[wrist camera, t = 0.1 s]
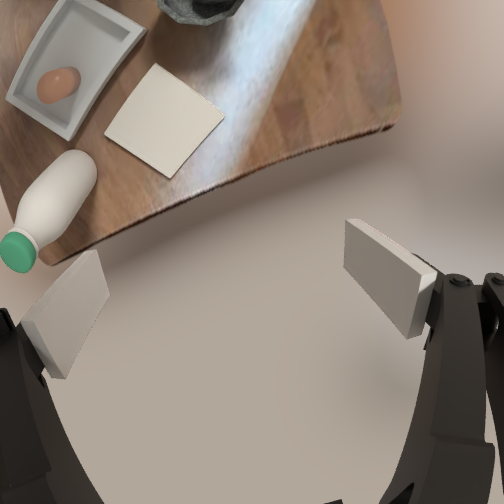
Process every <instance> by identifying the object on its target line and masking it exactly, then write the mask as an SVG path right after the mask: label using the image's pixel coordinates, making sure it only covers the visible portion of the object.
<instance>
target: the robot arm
mask: <svg viewBox="0 0 504 504" xmlns="http://www.w3.org/2000/svg"><path fill="white" fill-rule="evenodd" d="M344 268H345V269H346V270H347V271H348V273H349V274H350V275H351V276H352V277H353V278H354V279H355V280H356V281H357V282H358V284H359V285H360V286H361V287H362V288H363V289H364V290H365V292H366V293H367V294H368V295H369V296H370V297H371V298H372V299H373V301H374V302H375V303H376V304H377V305H378V306H379V307H380V309H381V310H382V311H383V312H384V313H385V314H386V316H387V317H388V318H389V319H390V320H391V321H392V323H393V324H394V325H395V326H396V327H397V329H398V330H399V331H400V332H401V333H402V335H403V336H404V337H405V338H406V339H410V338H413V337H416V336H419V335H421V334H422V331H423V328H424V324H425V322H426V323H427V324H428V325H429V326H430V327H431V328H430V331H429V334H428V337H427V340H426V343H425V346H424V350H426V355H425V361H424V367H423V373H422V378H421V383H420V388H419V393H418V397H417V401H416V406H415V410H414V414H413V418H412V422H411V425H410V429H409V432H408V435H407V439H406V442H405V445H404V448H403V451H402V454H401V457H400V460H399V463H398V466H397V468H396V471H395V474H394V476H393V479H392V481H391V483H390V485H389V487H388V489H387V490H386V492H385V494H384V495H383V497H382V498H381V500H380V502H379V504H487V503H488V499H489V494H490V488H491V483H492V476H493V469H494V462H495V447H494V445H493V443H486V442H485V439H484V433H485V418H486V416H485V415H486V390H487V394H488V398H489V402H490V406H491V410H492V415H493V420H494V424H495V430H496V436H497V441H498V449H499V456H500V465H501V476H502V485H503V493H504V276H503V275H502V274H499V273H488V274H486V276H485V279H484V283H483V285H474V284H473V283H472V281H471V280H470V279H469V278H467V277H465V276H463V275H459V274H447V275H444V274H443V273H442V272H440V271H439V270H438V269H436V268H435V267H433V266H432V265H430V264H429V263H428V262H426V261H424V260H423V259H422V258H421V257H419V256H418V255H416V254H413V253H410V252H409V251H407V250H406V249H404V248H403V247H401V246H400V245H398V244H397V243H396V242H394V241H393V240H391V239H390V238H388V237H386V236H385V235H383V234H382V233H380V232H379V231H377V230H376V229H374V228H372V227H371V226H369V225H368V224H366V223H365V222H363V221H362V220H360V219H358V218H357V219H346V220H345V248H344ZM109 296H110V293H109V290H108V287H107V284H106V281H105V277H104V274H103V271H102V267H101V264H100V260H99V256H98V253H97V250H89V251H85V252H84V253H82V254H81V255H80V256H79V258H77V259H76V260H75V261H74V263H72V264H71V265H70V266H69V268H68V269H66V271H65V272H64V273H63V274H62V275H61V276H60V277H59V278H58V279H57V280H56V281H55V282H54V283H53V284H52V285H51V287H50V288H49V289H48V290H47V291H46V292H45V293H44V294H43V295H42V296H41V297H40V299H39V300H38V301H37V302H36V303H35V304H34V305H33V306H32V308H31V309H30V310H29V311H28V312H27V314H26V315H25V316H24V317H23V318H22V319H21V321H20V323H19V324H18V325H17V327H15V325H14V323H13V321H12V319H11V317H10V315H9V313H8V311H7V309H6V308H0V504H104V502H103V501H102V499H101V498H100V496H99V495H98V493H97V491H96V490H95V488H94V487H93V485H92V483H91V481H90V480H89V478H88V476H87V474H86V473H85V471H84V469H83V467H82V465H81V464H80V462H79V460H78V458H77V456H76V454H75V452H74V450H73V448H72V446H71V444H70V441H69V439H68V437H67V435H66V433H65V431H64V428H63V426H62V423H61V421H60V419H59V416H58V414H57V411H56V409H55V406H54V403H53V401H52V398H51V395H50V393H49V389H48V386H47V383H46V380H45V378H44V377H43V375H42V374H41V373H42V371H43V369H44V367H45V368H46V370H47V372H48V373H49V375H50V376H51V378H57V379H66V377H67V375H68V373H69V371H70V369H71V367H72V365H73V363H74V361H75V358H76V357H77V354H78V353H79V351H80V349H81V347H82V345H83V343H84V341H85V339H86V337H87V335H88V334H89V332H90V330H91V328H92V326H93V324H94V322H95V321H96V319H97V317H98V315H99V314H100V312H101V310H102V308H103V306H104V305H105V303H106V301H107V300H108V298H109ZM498 322H499V324H498ZM497 325H498V329H497V328H496V327H497ZM10 485H11V486H10ZM325 504H343V502H342V500H341V499H340V500H336V501H333V502H329V503H325Z"/></svg>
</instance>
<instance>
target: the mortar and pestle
mask: <svg viewBox="0 0 504 504" xmlns="http://www.w3.org/2000/svg"><path fill="white" fill-rule="evenodd" d="M243 2H244V0H157V3H158V7H159V8H160V9H161V10H163V11H164V12H165V13H166V14H168V15H169V16H170V17H171V18H173V19H174V20H175V21H176V22H178V23H179V24H190V25H200V26H209V25H211V24H214V23H216V22H219V21H221V20H223V19H226V18H229V17H231V16H234V14H235V13H236V11H237V10H238V9H239V7H240V6H241V4H242V3H243Z"/></svg>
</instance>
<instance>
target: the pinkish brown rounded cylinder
mask: <svg viewBox="0 0 504 504" xmlns="http://www.w3.org/2000/svg"><path fill="white" fill-rule="evenodd" d="M80 83H81V75H80V73H79V71H78V70H77V69H76V68H74V67H71V66H69V67H64V68H60V69H56V70H52V71H49V72H46V73H45V74H44V75H43V76H42V77H41V78H40V79H39V81H38V84H37V96H38V98H39V99H40V101H41V102H43V103H45V104H53V103H55V102H57V101H59V100H61V99H64V98H66V97H68V96H70V95H72V94H74V93H75V92H76V91H77V90H78V88H79V86H80Z"/></svg>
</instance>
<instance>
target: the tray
mask: <svg viewBox="0 0 504 504" xmlns="http://www.w3.org/2000/svg"><path fill="white" fill-rule="evenodd" d="M147 31H148V30H147V29H146V28H144V27H143V26H141V25H139V24H138V23H136V22H135V21H133V20H131V19H130V18H128V17H126V16H125V15H123V14H121V13H119V12H118V11H116V10H114V9H112V8H111V7H109V6H107V5H105V4H103V3H101V2H100V1H98V0H59V1H58V2H57V3H56V5H55V6H54V8H53V9H52V11H51V12H50V14H49V15H48V17H47V18H46V20H45V21H44V23H43V24H42V26H41V28H40V29H39V31H38V32H37V34H36V36H35V38H34V39H33V41H32V43H31V45H30V46H29V48H28V50H27V52H26V54H25V56H24V58H23V60H22V62H21V64H20V66H19V68H18V70H17V72H16V74H15V76H14V79H13V81H12V83H11V85H10V88H9V90H8V93H7V95H6V98H5V100H7V101H8V102H10V103H11V104H13V105H14V106H16V107H17V108H19V109H20V110H22V111H23V112H25V113H26V114H28V115H29V116H31V117H32V118H34V119H35V120H37V121H38V122H40V123H41V124H43V125H44V126H46V127H47V128H49V129H50V130H52V131H54V132H55V133H57V134H58V135H60V136H61V137H63V138H64V139H66V140H67V141H69V140H71V139H72V138H73V137H74V136H76V134H77V132H78V130H79V128H80V126H81V125H82V123H83V121H84V119H85V118H86V116H87V114H88V112H89V111H90V109H91V107H92V106H93V104H94V103H95V101H96V99H97V98H98V96H99V95H100V93H101V92H102V90H103V89H104V87H105V86H106V84H107V83H108V81H109V80H110V78H111V77H112V75H113V74H114V73H115V71H116V70H117V69H118V67H119V66H120V64H121V63H122V62H123V60H124V59H125V58H126V57H127V55H128V54H129V53H130V51H131V50H132V49H133V48H134V46H135V45H136V44H137V43H138V42H139V40H140V39H141V38H142V37H143V36H144V34H145V33H146V32H147ZM69 66H71V67H74V68H76V69H77V70H78V71H79V73H80V75H81V83H80V86H79V88H78V90H77V91H76V92H75V93H74V94H72V95H70V96H68V97H66V98H64V99H61V100H59V101H57V102H55V103H53V104H45V103H43V102H41V101H40V99H39V98H38V96H37V84H38V81H39V79H40V78H41V77H42V76H43V75H44V74H45V73H46V72H49V71H52V70H56V69H60V68H64V67H69Z"/></svg>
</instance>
